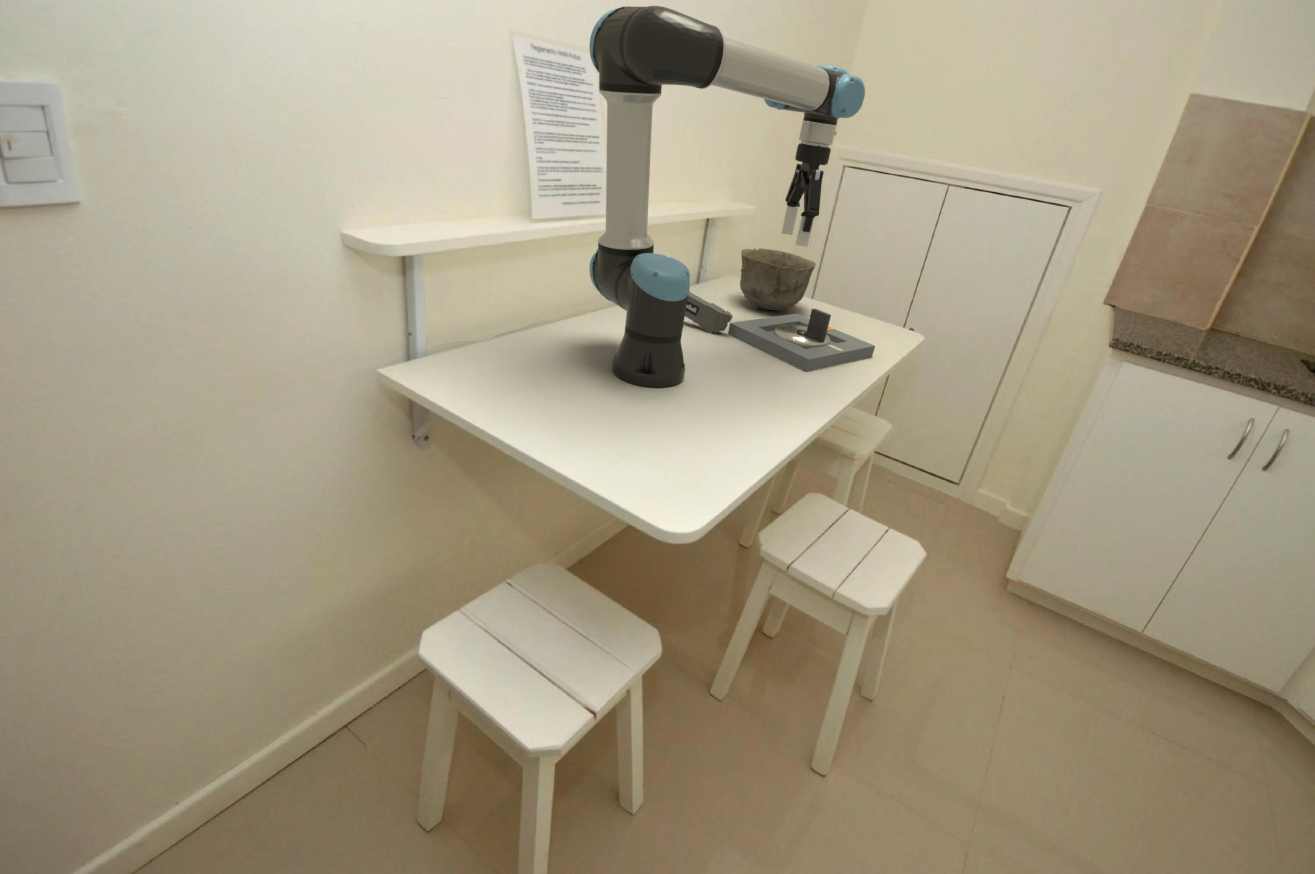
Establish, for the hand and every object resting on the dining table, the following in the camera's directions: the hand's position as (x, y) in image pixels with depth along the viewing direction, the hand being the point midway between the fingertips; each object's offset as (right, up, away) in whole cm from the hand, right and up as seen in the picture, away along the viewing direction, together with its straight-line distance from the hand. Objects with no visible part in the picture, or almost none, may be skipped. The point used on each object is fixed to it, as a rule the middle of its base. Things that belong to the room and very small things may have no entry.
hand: (793, 239), depth 159 cm
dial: (+3, -23, +7) cm, 24 cm away
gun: (-27, -18, +13) cm, 35 cm away
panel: (+3, -24, +8) cm, 26 cm away
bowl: (0, -9, +36) cm, 37 cm away
